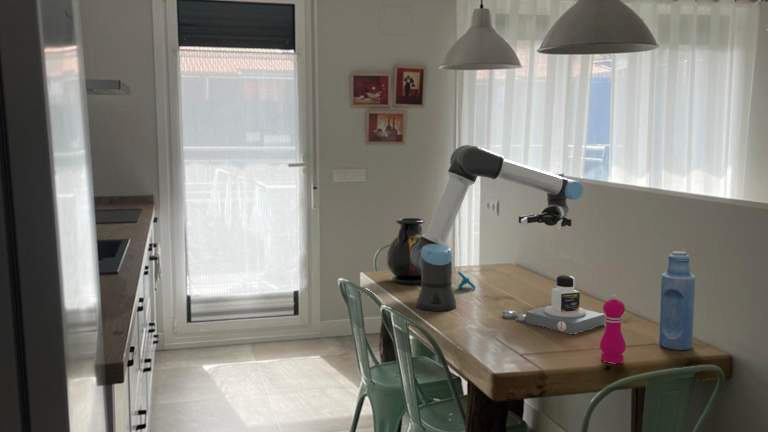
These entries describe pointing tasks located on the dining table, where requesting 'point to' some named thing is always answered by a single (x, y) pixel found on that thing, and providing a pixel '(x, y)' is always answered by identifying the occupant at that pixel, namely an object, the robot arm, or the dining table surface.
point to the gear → (465, 281)
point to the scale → (565, 319)
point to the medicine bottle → (565, 295)
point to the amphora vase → (405, 252)
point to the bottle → (677, 303)
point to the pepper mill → (613, 331)
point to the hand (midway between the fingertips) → (539, 225)
